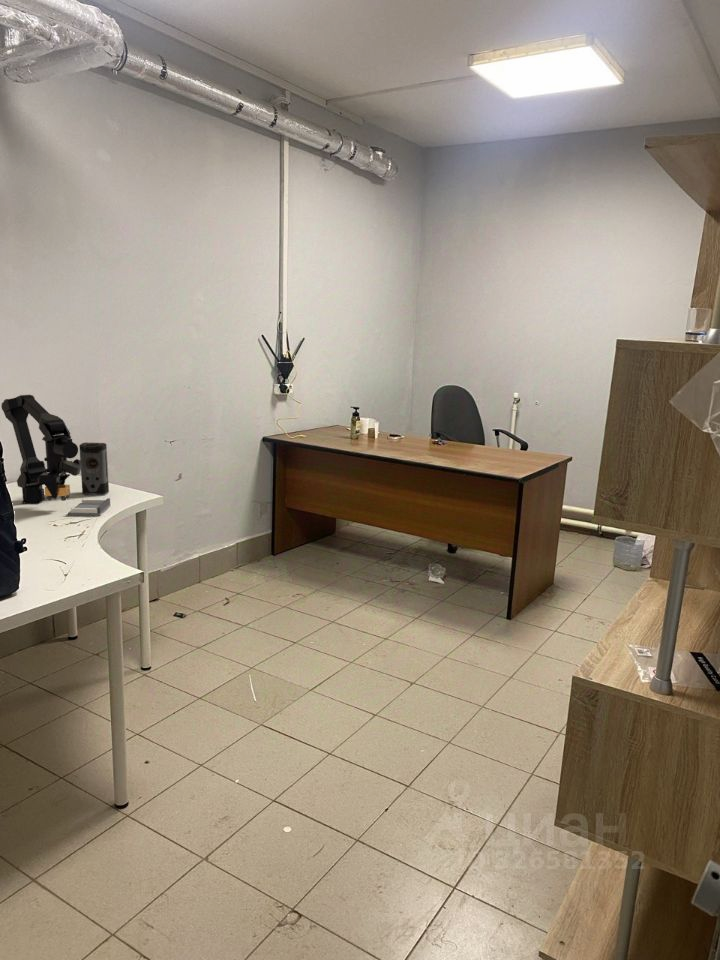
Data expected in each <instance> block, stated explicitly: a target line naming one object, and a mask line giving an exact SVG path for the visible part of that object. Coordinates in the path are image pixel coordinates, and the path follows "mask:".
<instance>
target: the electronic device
mask: <svg viewBox="0 0 720 960" xmlns="http://www.w3.org/2000/svg"><path fill="white" fill-rule="evenodd" d="M78 448H79V460H80V461H81V464H82V468H81V470H80V475H81V476H80V477H81V491H82V495H84V496H106V495H107V494H109V492H110V487H109V469H108V468H109V467H108V451H107V449H108V448H107V443H105V442H82V443H80V444H79V447H78ZM105 494H106V495H105Z"/></svg>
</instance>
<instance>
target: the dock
mask: <svg viewBox="0 0 720 960" xmlns="http://www.w3.org/2000/svg"><path fill="white" fill-rule="evenodd" d="M109 508H111V498H106V499H99V498H98V499H96V498H95V499H88V498H87V499H86V498H84V499H81V502H80V503H78V504H77V505H76V506H74V507H72V508H71V507H70V511H69V512H68V513H67V514H68V515H67V516H71V517H72V516H73V517H74V516H75V517H101V516H102V515H103V514H104V513H105V512H106V511H107V510H108V509H109ZM102 513H103V514H102ZM101 514H102V515H101Z"/></svg>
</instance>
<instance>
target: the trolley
mask: <svg viewBox="0 0 720 960" xmlns="http://www.w3.org/2000/svg"><path fill="white" fill-rule="evenodd" d="M70 493H71V486H70V484H64V485H61V484H58V495H57V497H60V500H61V501H62V502H63V501H64V502H65V501H67V500H68V499H69V498H70ZM44 496H45V497H46V498H45V500H47V501H52V500H53V499H54V498H53V497H52V495H51V494H50V492H49V490H48V489H47V487H46V486H45V487H44Z"/></svg>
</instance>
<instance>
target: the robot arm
mask: <svg viewBox="0 0 720 960" xmlns="http://www.w3.org/2000/svg"><path fill="white" fill-rule="evenodd" d="M1 410H2V412H3V414H4V416H5V418H6V419H7V420H8V421H9V422H10V423H11V425H12V427H13V430H14V435H15V437H16V438H15V439H16V443H17V445H18V448H19V449H18V450H19V452H20V456H21V459H22V463H21V466H20V469H19V471H20V474H19V476H18V478H17V480H16V484H17V487H18V488H21V492H22V501H21V502H23V503H22V504H36V503H38V504H41V503H42V502H44V501H45V500H46V498H45V497H46V496H45V488H43V486H45V487H47V489H48V490H49V492H50V494H51V495H52V497H53V499H58V496H57V495H58V484H61V485H66V480H67V479H68V478H69V477H70V476H74V477H77V476H78V475H79V474H81V468H82V464H81V461H80V459H78V458H76V459H74V458H75V457H76V456H77V455H78V453H79V447H78V445H77V444H76V443H75V442H73V438H72V436H71V432H70V429H68V427H67V425H66V423H65V421H64V420H63V419H62V418H61V417H59V416H57V415H55V414H52V413H50V412H48V410H46V409H45V407H44V406H42V405H41V404H40V403H39V402H38V401H37V400H36V399H35V396H34V395H32V394H22V395H21V394H20V395H18V396H16V397H13V398H5V399H4V400H3V402H2V403H1ZM29 415H30V416H31V417H32V418H33V419H34V420H35V421H36V422H37V423H38V429H39V430H40V432H41V434H42V435H43V437H42V439H41V440H42V441H44V443H45V444H44V445H45V457H44V460H40V459H39V458H38V457H37V453H36V450H35V446H34V442H33V439H32V435H31V432H30V429H29V424H28V417H29ZM68 459H74V460H68ZM45 462H46V463H45ZM45 464H46V465H45ZM24 502H25V503H24Z"/></svg>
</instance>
